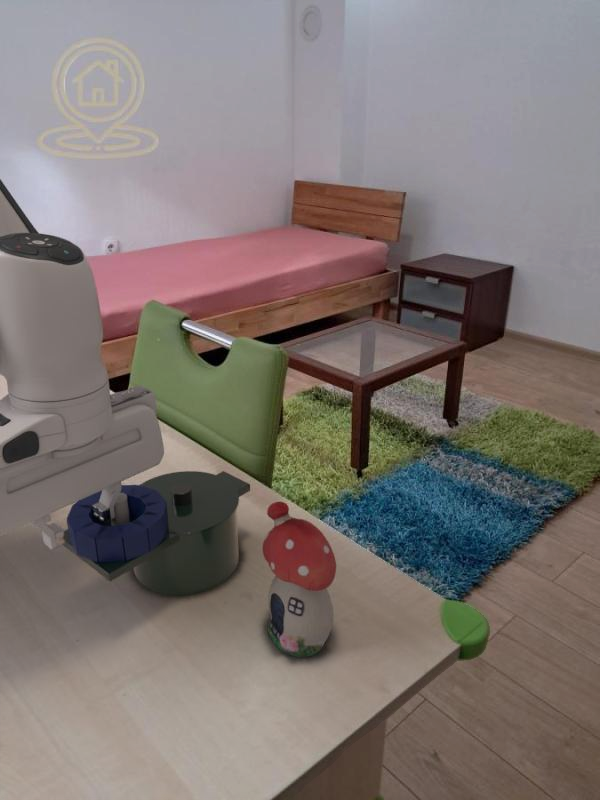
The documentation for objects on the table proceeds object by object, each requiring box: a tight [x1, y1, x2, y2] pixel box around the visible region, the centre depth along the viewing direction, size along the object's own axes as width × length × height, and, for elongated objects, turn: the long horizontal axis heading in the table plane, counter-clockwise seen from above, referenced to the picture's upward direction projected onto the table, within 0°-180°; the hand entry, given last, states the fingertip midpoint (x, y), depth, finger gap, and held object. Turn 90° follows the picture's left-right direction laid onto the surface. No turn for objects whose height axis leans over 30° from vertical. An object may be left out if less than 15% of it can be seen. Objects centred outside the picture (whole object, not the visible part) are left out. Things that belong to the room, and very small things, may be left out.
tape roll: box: [66, 484, 168, 563], centre depth 69 cm, size 10×10×3 cm
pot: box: [61, 470, 251, 596], centre depth 75 cm, size 22×14×13 cm, turn 139°
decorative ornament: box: [262, 501, 337, 659], centre depth 66 cm, size 9×7×15 cm
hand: (81, 531), depth 66 cm, fingers open, 4 cm apart
